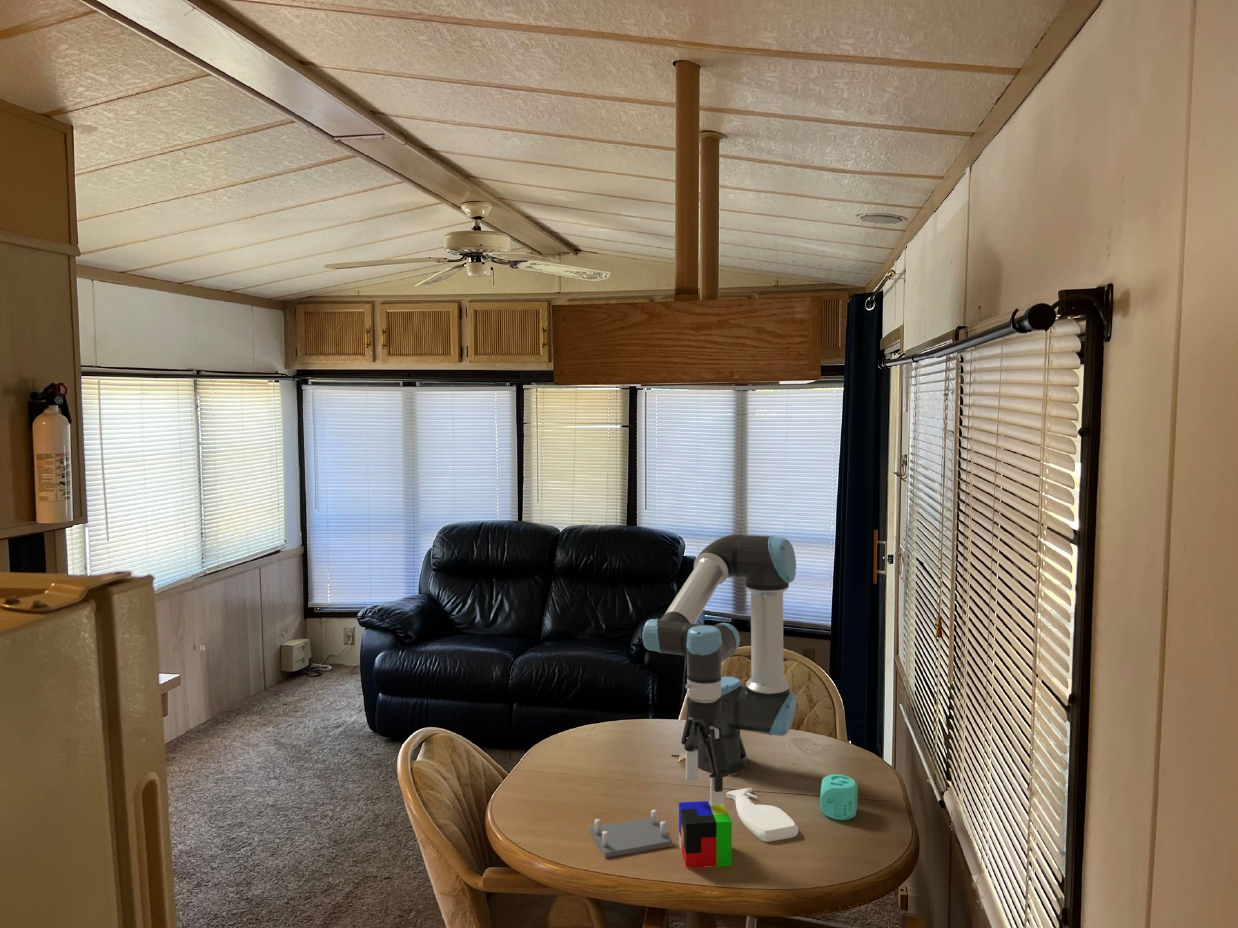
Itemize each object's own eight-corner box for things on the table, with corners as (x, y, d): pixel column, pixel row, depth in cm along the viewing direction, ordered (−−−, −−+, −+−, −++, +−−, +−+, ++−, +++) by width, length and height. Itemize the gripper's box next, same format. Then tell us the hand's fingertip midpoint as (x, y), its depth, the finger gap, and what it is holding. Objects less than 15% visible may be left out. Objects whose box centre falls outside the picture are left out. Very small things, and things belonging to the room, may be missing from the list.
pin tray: (653, 821, 208) (653, 804, 208) (672, 845, 197) (672, 827, 196) (589, 832, 203) (589, 814, 203) (605, 857, 192) (604, 839, 191)
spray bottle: (760, 845, 197) (716, 799, 221) (803, 837, 201) (755, 793, 224) (760, 832, 197) (716, 788, 221) (803, 824, 200) (755, 782, 224)
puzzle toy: (679, 844, 197) (678, 802, 197) (722, 842, 198) (722, 800, 197) (686, 868, 187) (686, 823, 187) (731, 865, 188) (731, 821, 187)
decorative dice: (819, 817, 210) (820, 785, 209) (824, 802, 217) (825, 771, 216) (853, 822, 207) (854, 790, 206) (857, 808, 214) (857, 776, 213)
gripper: (667, 682, 201) (667, 771, 202) (711, 718, 177) (711, 818, 179) (697, 678, 203) (697, 766, 205) (744, 714, 180) (744, 813, 181)
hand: (703, 791), depth 192 cm, fingers open, 13 cm apart
